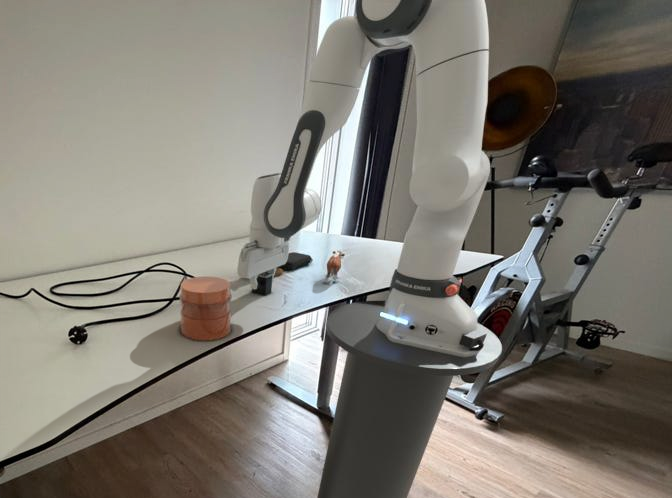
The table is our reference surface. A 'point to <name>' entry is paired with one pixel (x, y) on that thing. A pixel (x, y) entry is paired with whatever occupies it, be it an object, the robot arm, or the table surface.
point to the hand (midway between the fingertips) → (261, 285)
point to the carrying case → (296, 261)
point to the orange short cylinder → (205, 308)
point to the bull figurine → (334, 264)
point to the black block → (264, 283)
